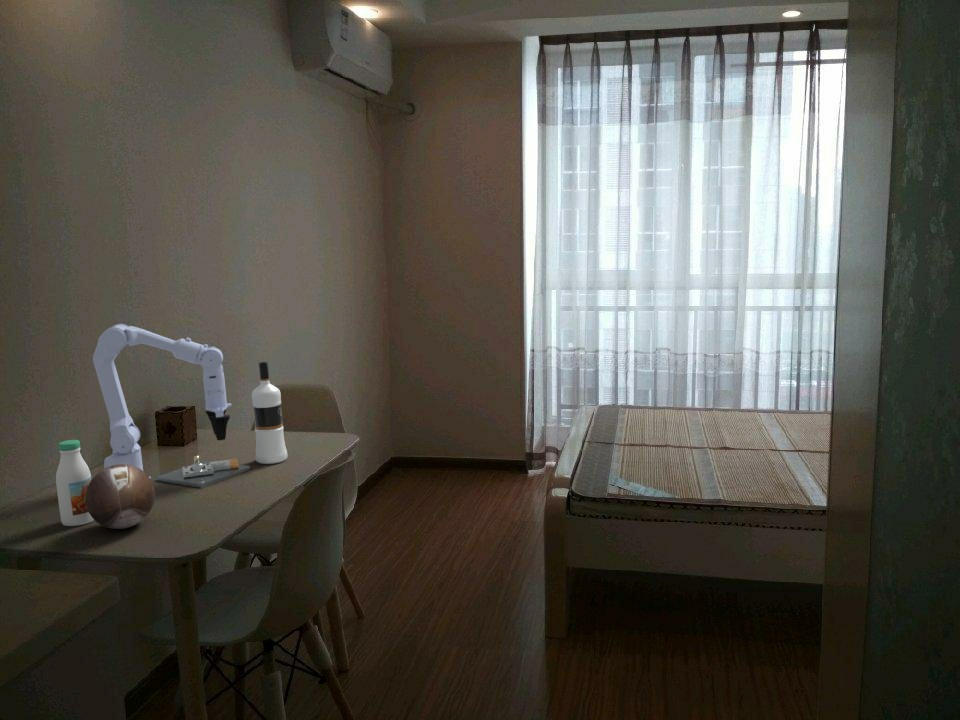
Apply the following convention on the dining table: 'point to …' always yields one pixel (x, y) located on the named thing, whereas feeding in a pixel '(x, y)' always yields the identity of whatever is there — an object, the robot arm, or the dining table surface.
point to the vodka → (268, 420)
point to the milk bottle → (72, 484)
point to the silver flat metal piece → (211, 467)
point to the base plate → (200, 480)
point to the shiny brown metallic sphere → (120, 496)
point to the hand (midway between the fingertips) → (219, 436)
